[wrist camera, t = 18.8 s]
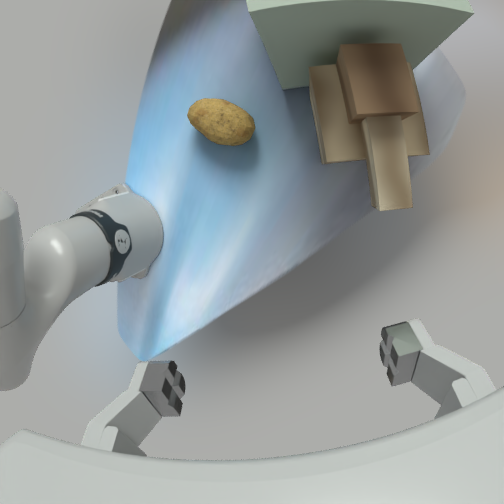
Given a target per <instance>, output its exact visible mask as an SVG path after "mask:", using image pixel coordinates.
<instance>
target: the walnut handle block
mask: <svg viewBox="0 0 504 504" xmlns="http://www.w3.org/2000/svg"><path fill="white" fill-rule="evenodd" d="M336 68H337V72H338V76H339V80H340V85H341V89H342V94H343V98H344V103H345V108H346V113H347V118H348V123H349V124H357V123H360V126H361V132H362V137H363V143H364V150H365V156H366V163H367V170H368V178H369V186H370V195H371V204H372V206H373V207H375V208H376V209H378V210H379V211H384V210H395V209H405V208H413V204H412V192H411V181H410V172H409V164H408V156H407V149H406V143H405V137H404V131H403V125H402V120H404V119H406V118H408V117H410V116H412V115H414V114H416V113H418V112H419V109H418V105H417V100H416V96H415V92H414V87H413V83H412V80H411V76H410V72H409V68H408V65H407V61H406V58H405V55H404V52H403V48H402V45H401V44H397V43H362V44H341V45H340V48H339V53H338V57H337V62H336Z"/></svg>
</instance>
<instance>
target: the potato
mask: <svg viewBox="0 0 504 504" xmlns="http://www.w3.org/2000/svg"><path fill="white" fill-rule="evenodd" d="M187 116H188V119H189V121H190V123H191V124H192V125H193V126H194V127H195V128H196V129H197V130H198V131H199V132H201V133H202V134H203V135H204V136H205V137H206V138H208V139H209V140H210V141H213V142H215V143H217V144H222V145H231V146H235V145H242V144H243V143H245V142H246V141H248V140H250V139H251V137H252V135H253V132H254V130H255V124H254V119H253V118H252V117H251V116H250V115H249V114H248V113H247V112H246V111H245V110H243V109H241V108H240V107H238V106H236V105H234V104H232V103H230V102H228V101H226V100H223V99H201V100H199V101H196V102H195V103H194V104H193V105H192V106H191V107H190V108H189V111H188V114H187Z"/></svg>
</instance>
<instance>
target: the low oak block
mask: <svg viewBox="0 0 504 504" xmlns="http://www.w3.org/2000/svg"><path fill="white" fill-rule="evenodd" d="M407 65H408V68H409V72H410V76H411V80H412V83H413V87H414V92H415V96H416V100H417V105H418V109H419V112H418V113H416V114H414V115H412V116H410V117H408V118H406V119H404V120H402V125H403V131H404V137H405V143H406V149H407V156H418V155H430V154H429V147H428V140H427V134H426V128H425V122H424V117H423V112H422V107H421V103H420V98H419V94H418V90H417V86H416V82H415V78H414V74H413V70H412V67H411V63H410V62H407ZM309 89H310V101H311V106H312V111H313V116H314V122H315V127H316V132H317V138H318V144H319V150H320V156H321V162H322V164H329V163H339V162H348V161H359V160H366V156H365V150H364V143H363V137H362V132H361V126H360V123H357V124H349V123H348V118H347V113H346V108H345V103H344V98H343V94H342V89H341V85H340V80H339V76H338V72H337V68H336V64H332V65H322V66H313V67H309Z"/></svg>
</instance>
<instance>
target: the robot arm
mask: <svg viewBox="0 0 504 504" xmlns="http://www.w3.org/2000/svg"><path fill="white" fill-rule="evenodd" d="M117 190H118V193H117ZM162 243H163V228H162V223H161V220H160V217H159V215H158V213H157V211H156V210H155V208H154V207H153V206H152V205H151V204H150V203H149V202H148V201H147V200H146V199H144V198H143V197H141V196H139V195H137V194H135V193H134V192H133V191H132V190H131V189H130V187H129V186H128V185H127V184H125V183H121V184H118V185H116V186H115V187H113V188H111V189H110V190H108V191H107V192H105V193H103V194H101V195H100V196H98V197H96V198H95V199H93V200H92V201H90V202H88V203H87V204H85V205H84V206H82V207H81V208H79V209H78V210H77V211H76V214H75V215H73V216H71V217H70V218H69V219H66V220H63V221H59V222H56V223H53V224H50V225H47V226H44V227H42V228H40V229H39V230H37V232H35V233H34V234H33V235H32V236H31V238H30V239H29V241H28V243H27V245H26V247H25V249H24V245H23V238H22V232H21V225H20V218H19V212H18V205H17V203H16V202H15V200H14V199H13V198H12V197H11V196H10V195H9V194H8V193H7V192H6V191H5V190H3V189H2V188H0V391H7V390H12V389H15V388H17V387H19V386H20V385H21V384H23V383H24V381H25V380H26V379H27V378H28V376H29V373H30V369H31V365H32V361H33V358H34V355H35V353H36V350H37V348H38V346H39V344H40V343H41V341H42V339H43V338H44V336H45V335H46V333H47V331H48V330H49V329H50V327H51V326H52V324H53V323H54V322H55V320H56V319H57V317H58V316H59V315H60V313H62V311H63V310H64V309H65V308H66V307H67V306H68V305H69V304H70V303H71V302H72V301H73V300H75V299H76V298H78V297H79V296H81V295H82V294H83V293H85V292H86V291H88V290H89V289H91V288H92V287H94V286H95V287H96V286H100V285H102V284H105V283H107V282H109V281H110V282H114V281H118V282H122V281H124V280H126V279H128V278H130V277H132V278H139V279H142V278H144V277H146V275H147V273H148V270H149V266H150V264H151V263H152V262H153V261H154V260H155V259H156V257H157V256H158V254H159V252H160V250H161V247H162ZM381 336H382V338H383V340H382V341H381V343H380V356H381V360H382V363H383V365H384V366H385V367H387V368H388V370H387V376H388V378H389V381H390V383H391V386H396V385H399V384H403V383H406V382H410V381H411V382H412V383H413V384H415V385H416V386H417V387H418V388H420V389H421V390H422V391H424V392H425V393H426V394H428V395H429V396H430V397H431V398H433V399H434V400H435V401H437V402H438V403H439V404H441V407H440V409H439V411H438V413H437V415H436V416H435V419H434V420H432V421H429V422H426V423H424V424H421V425H418V426H415V427H412V428H409V429H406V430H403V431H400V432H397V433H394V434H391V435H387V436H384V437H381V438H377V439H373V440H369V441H365V442H361V443H357V444H354V445H349V446H344V447H339V448H335V449H329V450H324V451H318V452H312V453H306V454H299V455H291V456H283V457H274V458H262V459H247V460H181V459H167V458H155V457H147V455H146V454H145V453H144V452H143V451H142V450H141V449H140V448H138V446H139V445H140V444H141V442H142V441H143V440H144V439H145V437H146V436H147V435H148V434H149V433H150V431H151V430H152V429H153V428H154V427H155V425H156V424H157V423H158V422H159V420H160V419H161V418H162V417H161V416H180V414H181V409H182V404H183V403H182V401H181V400H180V399H181V398H182V396H184V394H185V380H184V377H183V376H182V374H181V373H180V372H178V371H177V370H176V369H177V365H176V364H175V362H174V361H141V362H139V363H138V364H137V367H136V369H135V372H134V374H133V377H132V380H131V382H130V385H129V388H128V391H124V392H123V393H122V394H121V395H120V396H118V397H117V398H116V399H115V400H114V401H113V402H112V403H110V404H109V405H108V406H107V407H106V408H105V409H104V410H103V411H101V412H100V413H99V414H98V415H97V416H95V418H93V419H92V420H91V421H90V422H89V423H88V426H87V429H86V432H85V434H84V437H83V440H82V442H81V445H78V444H74V443H70V442H66V441H63V440H59V439H55V438H52V437H49V436H46V435H42V434H39V433H36V432H34V431H31V430H27V429H23V430H20V431H18V432H17V433H15V434H14V435H12V436H11V437H10V438H8V439H7V440H6V441H4V442H3V443H2V444H1V445H0V504H504V386H503V387H501V388H500V389H498V390H496V389H495V387H494V385H493V383H492V382H491V380H490V378H489V376H488V375H487V373H486V371H485V370H484V368H483V367H481V366H479V365H477V364H476V363H474V362H472V361H470V360H468V359H466V358H464V357H462V356H460V355H458V354H456V353H454V352H452V351H450V350H448V349H446V348H444V347H442V346H441V345H435V344H434V342H433V340H432V339H431V337H430V336H429V334H428V332H427V331H426V329H425V327H424V326H423V324H422V323H421V321H420V319H418V318H416V319H412V320H409V321H406V322H402V323H398V324H395V325H391V326H387V327H383V328H382V331H381Z"/></svg>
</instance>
